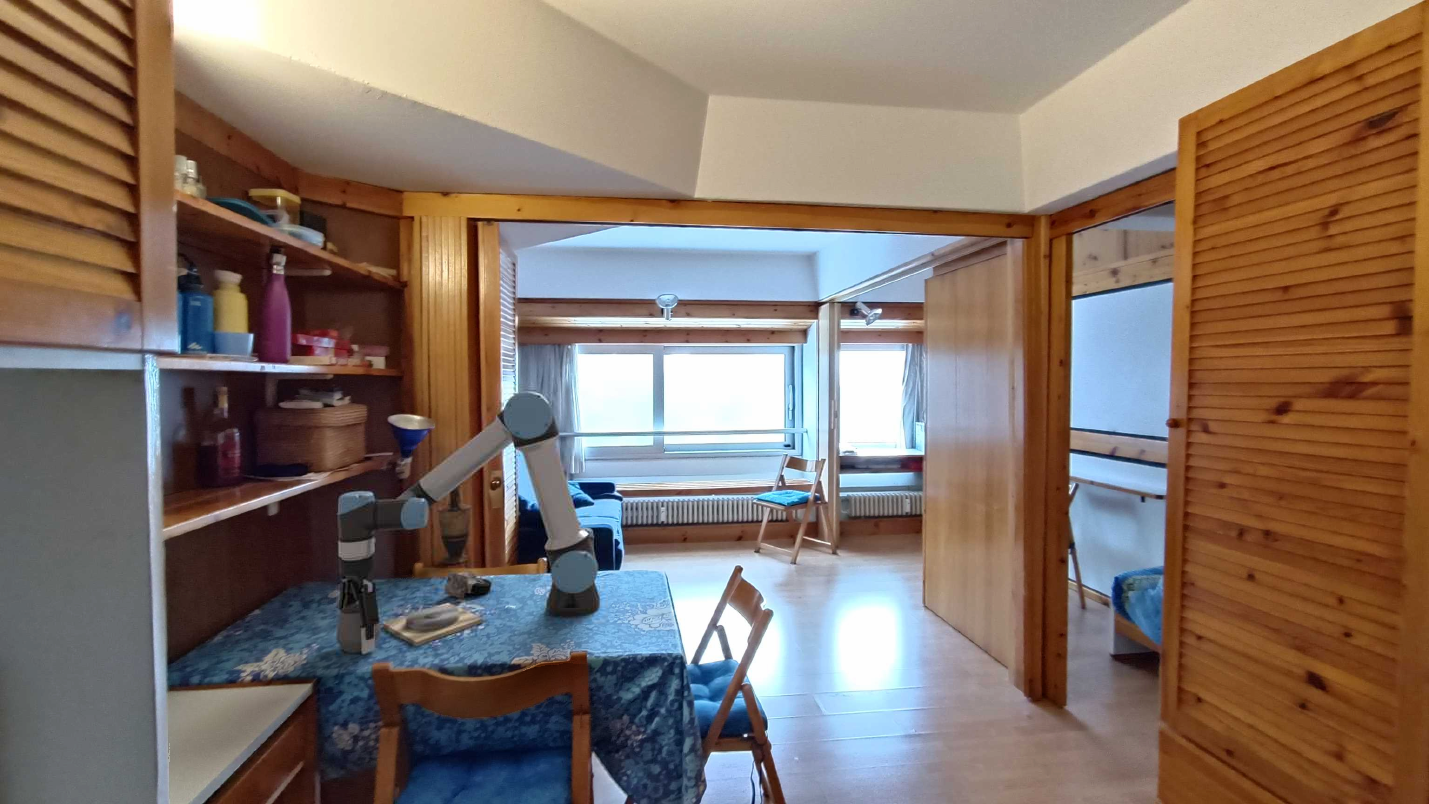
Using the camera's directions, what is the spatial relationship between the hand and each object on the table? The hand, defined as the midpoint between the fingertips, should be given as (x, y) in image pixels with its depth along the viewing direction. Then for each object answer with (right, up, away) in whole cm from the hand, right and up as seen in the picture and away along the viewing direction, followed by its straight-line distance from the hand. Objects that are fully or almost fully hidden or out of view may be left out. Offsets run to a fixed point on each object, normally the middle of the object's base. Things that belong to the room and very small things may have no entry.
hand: (359, 645), depth 146 cm
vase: (-6, +2, +69) cm, 69 cm away
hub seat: (+12, 0, +14) cm, 18 cm away
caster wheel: (+12, +1, +38) cm, 39 cm away
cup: (0, -1, 0) cm, 1 cm away
